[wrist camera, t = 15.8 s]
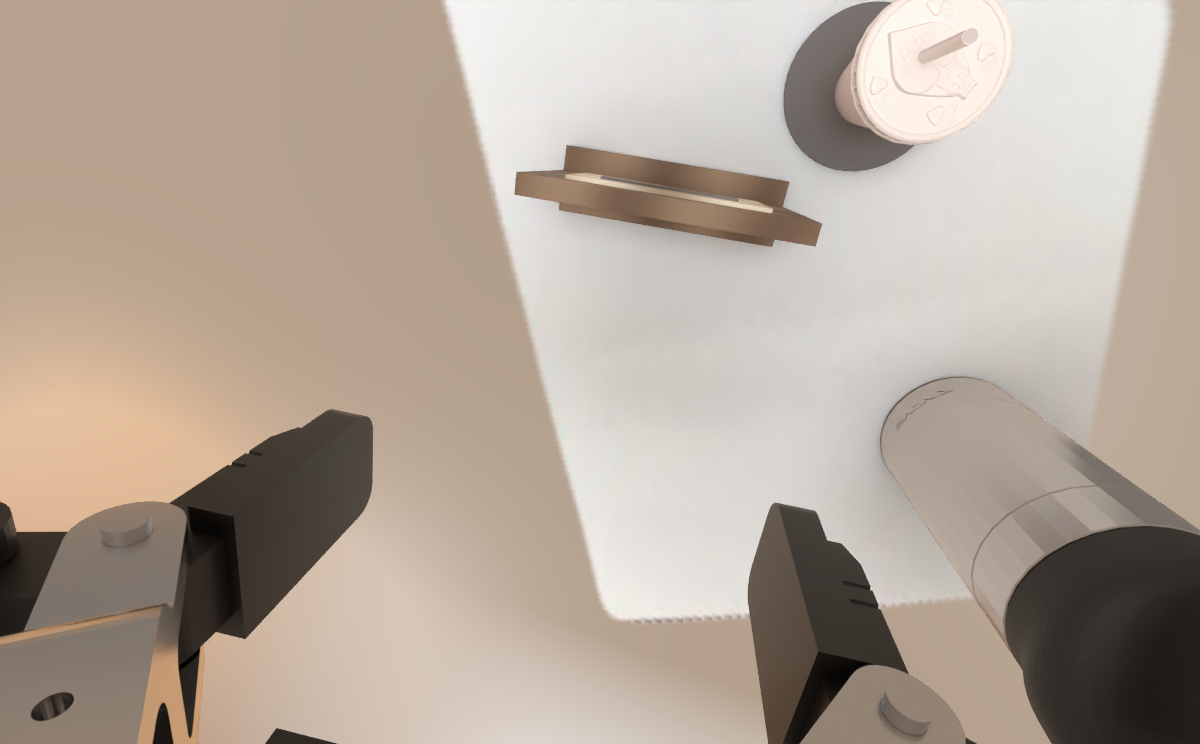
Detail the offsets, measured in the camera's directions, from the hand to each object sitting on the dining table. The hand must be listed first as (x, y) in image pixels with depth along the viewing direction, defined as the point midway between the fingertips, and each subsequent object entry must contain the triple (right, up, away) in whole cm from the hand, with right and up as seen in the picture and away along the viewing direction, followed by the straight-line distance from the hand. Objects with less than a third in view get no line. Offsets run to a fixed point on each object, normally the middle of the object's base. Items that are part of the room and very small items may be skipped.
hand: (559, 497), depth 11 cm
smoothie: (+17, +19, +23) cm, 34 cm away
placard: (+5, +14, +26) cm, 30 cm away
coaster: (+16, +19, +23) cm, 34 cm away
